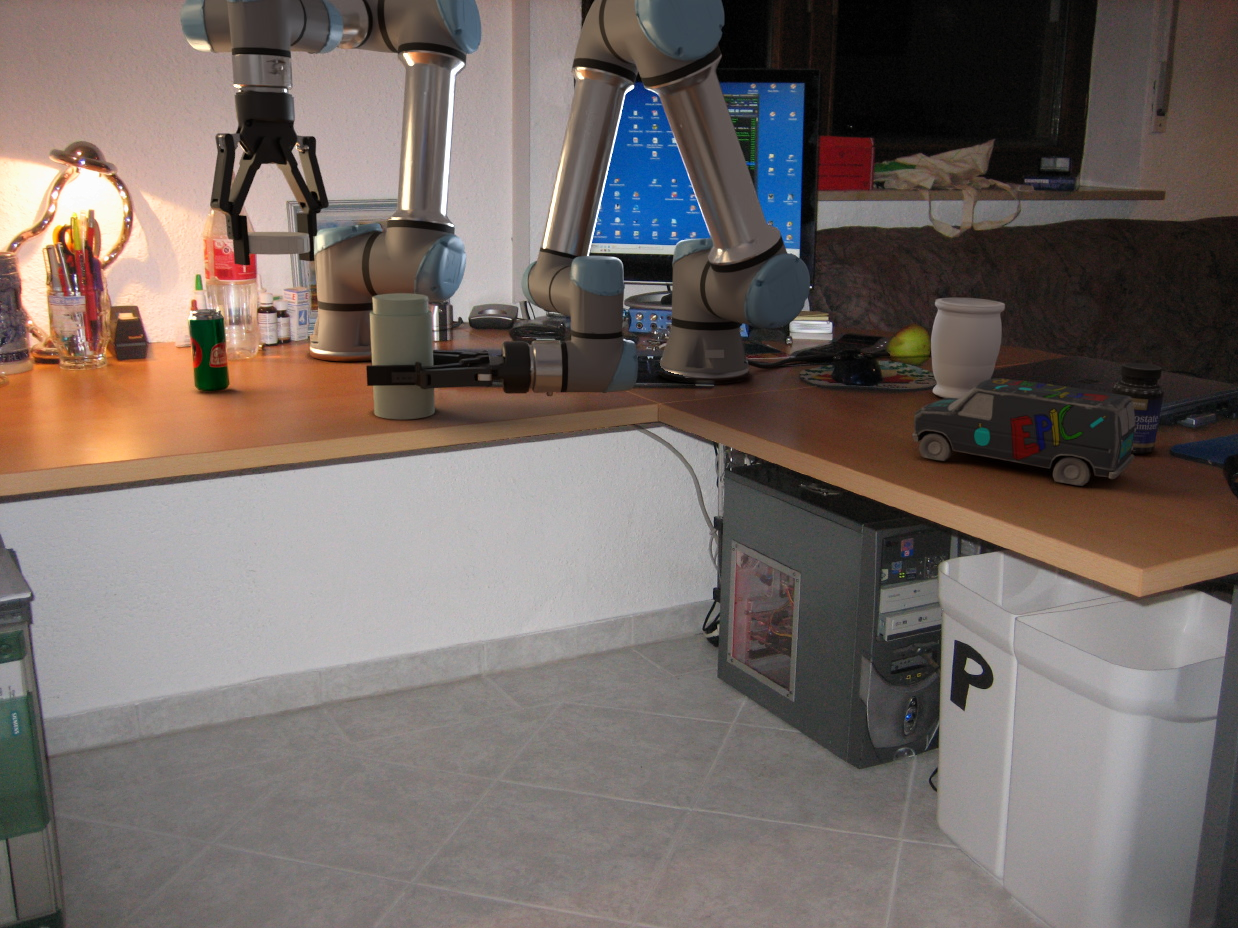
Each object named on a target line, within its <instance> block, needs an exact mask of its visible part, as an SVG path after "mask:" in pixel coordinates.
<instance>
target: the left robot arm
mask: <svg viewBox="0 0 1238 928" xmlns="http://www.w3.org/2000/svg"><path fill="white" fill-rule="evenodd" d="M179 19H180V20H179V21H180V24H181V31H182V34H183V36H184V38H185V40H186V42H187V43H188V44H189V46H191V47H192V48H193V49H195V50H196V51H198V52H203V53H213V54H219V53H231V65H232V66H231V67H232V83H233V87H234V88H236V89H238V91H237V92H235V94H234V107H235V118H236V121H237V128H236V131H235V133H229V132H227V133H226V132H225V133H223V132H221V133H220V132H219V133H216V134H215V145H216V149H217V153H216V154H217V155H216V160H215V161H216V162H215V167H214V175H213V183H212V188H211V195H210V203H209V206H210V209H212V210H215V211H218V212H220V213H221V214H222V215H224V216H225V227H226V236H227V239H228V240H232V245H233V259H234V260H233V262H234V265H239V266H251V254H249V241H248V232H249V230H248V229H249V228H248V216H247V215H244V214H243V215H242V214H241V213H242V211H243V207H244V205H245V203H246V199H247V197H248V195H249V193H250V190H251V188H252V185H253V183H254V179H255V177H256V175H257V171H258V170H260V169H261V167H262V165H276V167H277V168H278V170H280V171H281V173H282V175H283V176H284V177H283V178H284V179H285V181H286V182H287V184H288V187H289V189H290V191H291V192H292V194H293V196H294V198H295V200H296V202H297V204H298V206H299V208H300V210H301V211H302V212H296V228H297V229H296V230H297V232H299V233H307V234H309V238H310V251H309V252H307V253H300V254H298V260H299V261H305V262H314V269H315V280H316V284H315V285H316V297H317V310H318V311H317V316H316V321H315V323H314V327H313V331H312V334H309V341H310V342H309V355H310V356H311V357H312V358H314V359H317V360H323V361H331V362H366V361H371V353H372V352H371V330H370V312H371V311H373V296H376V295H381V294H395V293H407V294H421V295H426V296H428V299H429V301H428V303H431V302H432V303H439V302H440V303H441V302H445V301H448V300H450V299H451V298H452V297H454V295H455V294H456V292H457V291H458V290H459V288H460V285H461V284H462V281H463V279H464V275H465V270H466V264H467V253H466V251H465V249H466V246H465V244H464V241H463V240H462V238H460V236H457V234H455V231H456V226H455V224H454V223H453V222H452V220H451V219H450V218H449V217H448V206H449V191H450V190H449V189H450V175H451V162H452V161H451V159H452V157H451V156H452V144H453V131H454V130H453V129H454V115H455V99H456V86H457V85H456V84H457V76H458V75H459V74H460V73H462V71H463V72H464V70H466V68H467V56H468V55H472V54H473V53H475V52H477V51H478V50H479V47H480V45H481V43H482V20H481V15H480V11H479V7H478V5H477V2H476V0H185V2H184V3H183V4H182V6H181V10H180V15H179ZM336 48H337V49H341V50H363V51H372V52H377V53H378V52H379V53H386V54H397V61H398V62H399V63H400V64H401V65H402V67H403V68H404V71H405V73H404V75H405V76H404V89H403V90H404V91H403V106H402V107H403V108H402V123H401V139H400V153H399V169H398V170H399V171H398V184H397V185H398V186H397V199H396V200H397V202H396V211H395V212H394V213H393V214H392V215H390V216H389V217H388V218H387V221H386V231H383V228H382V226H381V224H380V223H378V222H374V223H364V224H355V225H344V226H336V227H326V228H321V229H319V230H318V219H317V218H318V216H317V215H318V214H320V213H321V211H322V210H323V209H327V208H329V205H330V203H329V199H328V195H327V191H326V187H325V183H324V180H323V176H322V173H321V172H322V171H321V167H320V164H319V160H318V156H317V139H316V137H315V136H313V135H298V134H297V132H296V130H295V126H294V125H295V120H296V113H295V97H294V96H293V94H291V93H289V91H291V90H292V89H293V88H294V87H293V69H292V52H300V53H301V52H303V53H307V54H308V55H309V54H310V55H313V54H316V55H319V54H321V55H324V54H329V53H331V52H333V51H334V50H335V49H336ZM239 146H240V147H241V149H242V150H243V151H242V155H241V156H240V159H239V163H238V164H239V167H238V169H237V171H236V175H235V177H234V180H233V175H234V167H235V162H236V150H237V149H238V147H239ZM294 148H295V149H296V150H297V151H298V156H299V161H300V165H301V169H302V172H303V175H302V173H301V171H300V169H299V167H298V166H299V163H298V161H297V158H296V157H295V155H294V153H293V150H294ZM303 176H304V177H303ZM462 324H464V320H463V318H462V317H461V316H459V317H457V322H456V323H452V324H451V325H452V328H451V329H456V328H458V327H460V326H461V325H462Z"/></svg>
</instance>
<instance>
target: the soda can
mask: <svg viewBox="0 0 1238 928" xmlns="http://www.w3.org/2000/svg"><path fill="white" fill-rule="evenodd" d="M189 313H190V315H189V317H188V318H187V319H188V320H187V321H188V329H189V330H188V331H189V340H190V350H191V362H192V371H193V382H194V387H195V389H197V390H198V391H199V392H208V393H210V392H211V393H213V392H222V391H225V390H227V389H228V388H229V386H230V383H231V382H230V371H229V360H228V349H227V348H228V347H227V336H226V325H225V324H226V323H225V317H224V315H223V314H222V310H220V309H217V308H201V309H193V310H191V311H190V312H189Z"/></svg>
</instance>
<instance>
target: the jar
mask: <svg viewBox="0 0 1238 928" xmlns="http://www.w3.org/2000/svg"><path fill="white" fill-rule="evenodd" d="M934 301H935V302H934V306H935V307H936V308H937V312H936V315H935V318H934V320H933V325H932V328H931V329H932V330H931V336H930V350H931V355H930V356H931V370H932V374H933V377H934V380H935V382H936V384H935V386H934V387H933V388H932V393H933V394H934V395H935V396H938V397H940V398H943V399H944V398H960V397H962V396H963V395H965V394H966V393H967V392H968V391H970V390H971V389H972V388H974V387H975V386H976V385H977V384H979V383H980V382H982V381H984V380H988V379H992V376H993V375H994V371H995V367H996V362H997V360H998V357H999V355H1000V350H1001V343H1002V338H1003V337H1002V334H1003V333H1002V331H1003V325H1002V319H1001V313H1002V312H1004V311H1005V309H1006V304H1005V302H1001V301H997V300H992V299H988V298H987V299H986V298H978V297H977V298H976V297H941V298H937V299H935V300H934Z"/></svg>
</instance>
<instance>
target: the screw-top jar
mask: <svg viewBox="0 0 1238 928" xmlns="http://www.w3.org/2000/svg"><path fill="white" fill-rule="evenodd" d="M428 301H429V299H428V296H426V295H421V294H407V293H395V294H381V295H376V296H373V311H371V312H370V330H371V352H372V365H415V362H420V363H421V365H422V367H423V366H433V350H434V341H433V340H434V339H433V337H434V336H433V330H432V326H433V312H432V311H431V310H430V309H429V302H428ZM372 393H373V414H374V415H375V416H376V417H378V418H382V419H385V420H386V419H388V420H402V421H403V420H405V421H406V420H416V419H417V420H418V419H423V418H427V417H430V416H432V415H434V414H435V412H436V410H435V409H436V406H435V405H436V404H435V388H429V389H422V388H421V387H420V386H417V385H395V386H372Z"/></svg>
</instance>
